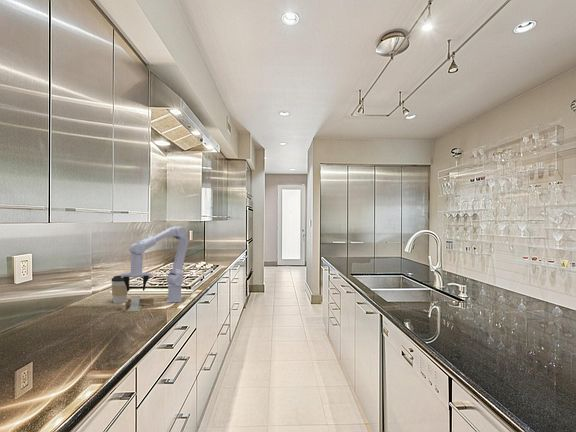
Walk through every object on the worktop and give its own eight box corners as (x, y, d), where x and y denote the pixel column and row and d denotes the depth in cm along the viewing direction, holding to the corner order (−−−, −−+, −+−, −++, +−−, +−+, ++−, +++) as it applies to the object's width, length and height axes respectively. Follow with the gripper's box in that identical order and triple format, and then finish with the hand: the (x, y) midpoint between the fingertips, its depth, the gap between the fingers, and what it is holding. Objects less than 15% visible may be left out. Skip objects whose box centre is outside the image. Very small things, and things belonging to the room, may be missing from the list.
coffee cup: (111, 300, 189) (112, 274, 189) (128, 299, 193) (129, 273, 193) (110, 304, 181) (110, 277, 181) (128, 302, 184) (128, 276, 185)
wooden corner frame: (126, 305, 179) (126, 299, 179) (153, 304, 183) (153, 298, 183) (121, 312, 167) (121, 305, 167) (150, 310, 171) (151, 304, 171)
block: (131, 307, 175) (131, 296, 175) (139, 306, 176) (139, 295, 176) (129, 310, 168) (129, 299, 168) (138, 310, 169) (138, 298, 170)
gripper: (151, 264, 182) (151, 288, 181) (123, 264, 177) (122, 289, 177) (150, 265, 175) (149, 291, 175) (120, 266, 171) (120, 292, 170)
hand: (136, 290), depth 176 cm, fingers open, 7 cm apart
